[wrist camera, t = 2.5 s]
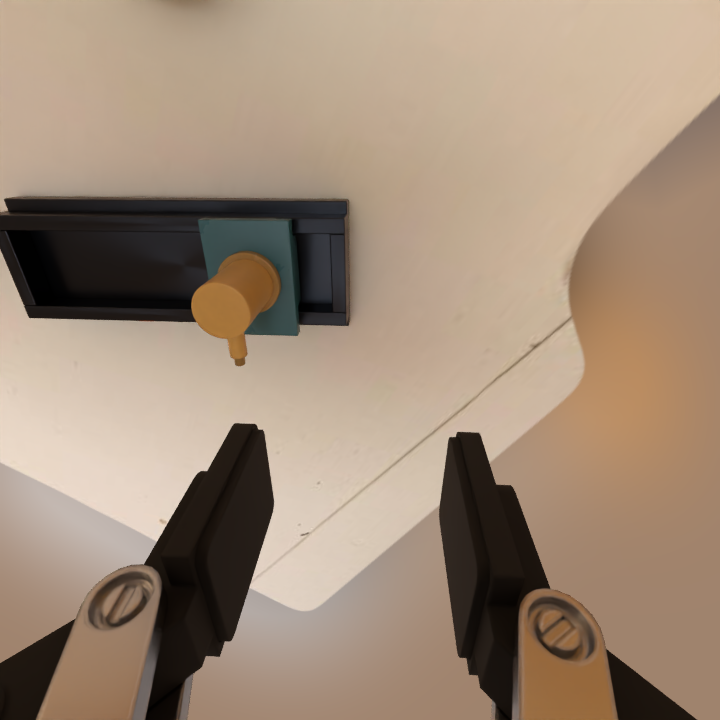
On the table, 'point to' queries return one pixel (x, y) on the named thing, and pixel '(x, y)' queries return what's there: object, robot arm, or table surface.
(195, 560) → the robot arm
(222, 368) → the table surface
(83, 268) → the black rectangular tray
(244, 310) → the nozzle
